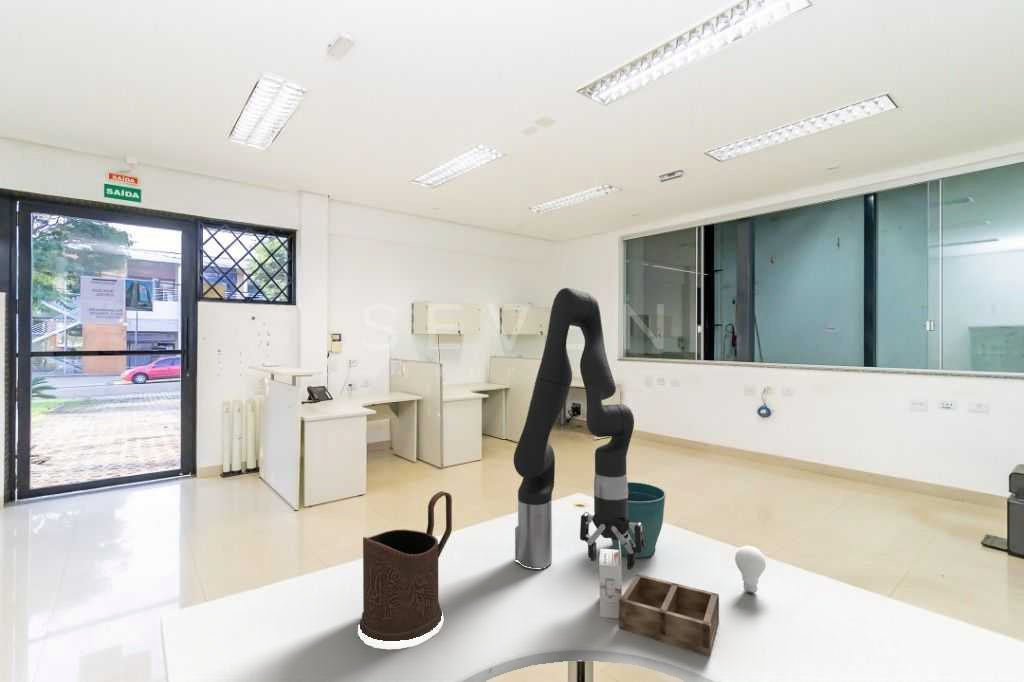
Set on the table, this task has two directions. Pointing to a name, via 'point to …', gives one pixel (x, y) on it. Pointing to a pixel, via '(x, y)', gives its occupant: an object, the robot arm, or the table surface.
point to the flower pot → (644, 516)
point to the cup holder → (403, 580)
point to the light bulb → (750, 566)
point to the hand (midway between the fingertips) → (611, 564)
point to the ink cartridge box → (610, 582)
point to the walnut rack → (670, 613)
